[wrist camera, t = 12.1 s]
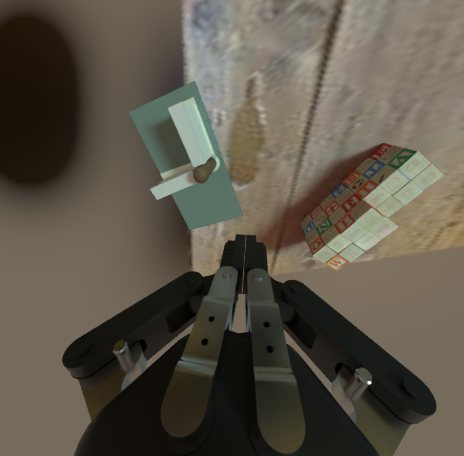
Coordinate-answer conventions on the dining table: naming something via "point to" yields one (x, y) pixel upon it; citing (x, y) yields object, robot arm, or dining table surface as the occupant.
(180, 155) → the board
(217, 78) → the dining table surface
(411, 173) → the stack of blocks
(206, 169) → the brown rounded rod
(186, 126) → the panel
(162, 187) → the panel
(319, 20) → the dining table surface
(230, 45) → the dining table surface
